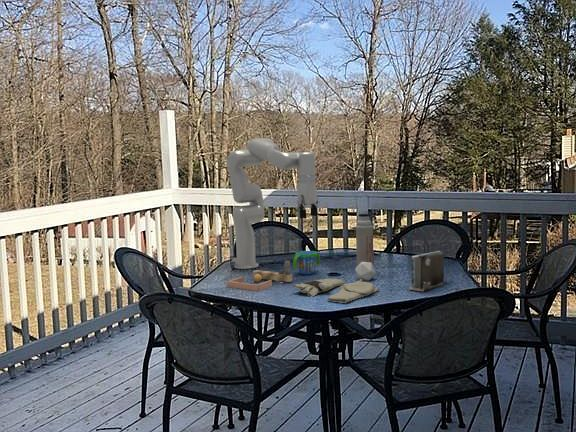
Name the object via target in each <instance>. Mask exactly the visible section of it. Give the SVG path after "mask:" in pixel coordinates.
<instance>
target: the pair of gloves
mask: <svg viewBox="0 0 576 432" xmlns="http://www.w3.org/2000/svg"><path fill="white" fill-rule="evenodd" d="M341 285H342V286H341ZM337 286H338V287H339V291H337V292H336V293H334V294H331V295H329V296H328V297H327V302H328V301H335V302H343V303H344V302H345V304H347V302H348V303H350V302H349V301H351V302H353V301H352V300H354V301H355V299H356V300H358V299H357V298H359V299H361V297H362V298H364V296H365V297H367V296H369V295H370V294H371V295H372V294H373V293H376V292H377V291H379V290H380V289H379V287H377V286H376V285H374V284H373V283H372V282H368V281H364V280H362V279H361V280H359V279H358V280H356V281H355V282H349V283H345V281H344V280H342V279H340V278H325V279H316V280H310V281H305V282H302V283H300V284H298V283H297V284H292V288H297V289H298V290H300V292H301V293H303V294H306V293H307V294H306V295H307V296H308V297H309V296H315V295H316V296H317V295H318V294H317V293H319V294H322V293H321V292H324V293H326V292H328V291H329V290H332V289H333V288H335V287H337ZM325 291H326V292H325ZM316 296H315V297H316Z"/></svg>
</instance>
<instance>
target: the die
mask: <svg viewBox="0 0 576 432" xmlns="http://www.w3.org/2000/svg"><path fill="white" fill-rule="evenodd" d="M354 271H355V274H356V276H357V278H358V281H359V280H361V279H362V280H363V281H366V282H369V281H370V280H371V279H372V278H373V277H374V276H375V275H376V274H377V272H376V269H375V266H374V267H373V265H372V263H370V262H361V263H360V264H359V265H358V266H357V265H356V267H355V268H354Z"/></svg>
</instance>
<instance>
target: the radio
mask: <svg viewBox="0 0 576 432" xmlns="http://www.w3.org/2000/svg"><path fill="white" fill-rule="evenodd" d="M444 258H445V256H444V253H443V252H442V251H440V250H435V251H431V252H427V253H422V254H416V255H412V256H411V258H410V259H411V267H410V268H411V285H410V286H409V287H408V289H409V290H411V291H416V292H426V291H429V290H432V289H435V288H437V287H441V286H443V285H444V283H445V273H444V272H445V263H444Z"/></svg>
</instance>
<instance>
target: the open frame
mask: <svg viewBox="0 0 576 432" xmlns="http://www.w3.org/2000/svg"><path fill="white" fill-rule="evenodd" d="M226 287H227V288H229V289H230V288H232V289H238V290H239V289H240V290H247V291H253V292H259V291H262V290H265V289H267V288H270V287H273V280H266V281H263V282H261V283H258V284H256V283H254V284H253V283H247V282H244V276H239V277H237V278H233V279H231V280H227V281H226Z"/></svg>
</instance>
